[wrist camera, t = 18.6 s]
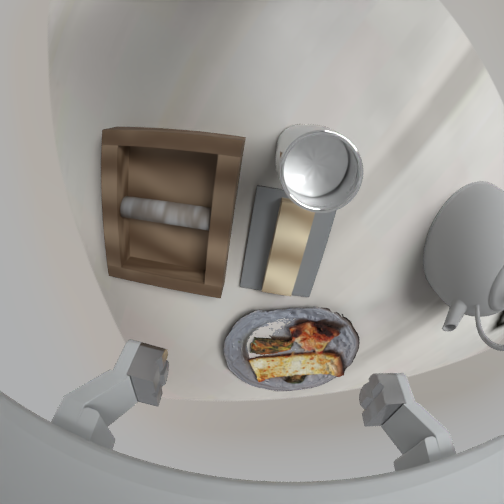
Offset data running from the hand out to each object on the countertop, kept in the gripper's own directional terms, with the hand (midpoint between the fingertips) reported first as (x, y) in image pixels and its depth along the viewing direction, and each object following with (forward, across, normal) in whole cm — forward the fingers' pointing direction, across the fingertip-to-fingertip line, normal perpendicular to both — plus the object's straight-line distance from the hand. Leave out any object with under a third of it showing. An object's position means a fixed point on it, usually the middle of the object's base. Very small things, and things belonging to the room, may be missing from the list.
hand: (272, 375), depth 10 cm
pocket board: (+29, +13, +6) cm, 32 cm away
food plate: (+30, -10, +30) cm, 43 cm away
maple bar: (+28, -4, +9) cm, 29 cm away
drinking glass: (+29, -3, -5) cm, 30 cm away
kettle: (+30, -36, +3) cm, 47 cm away
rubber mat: (+29, -4, +9) cm, 31 cm away
